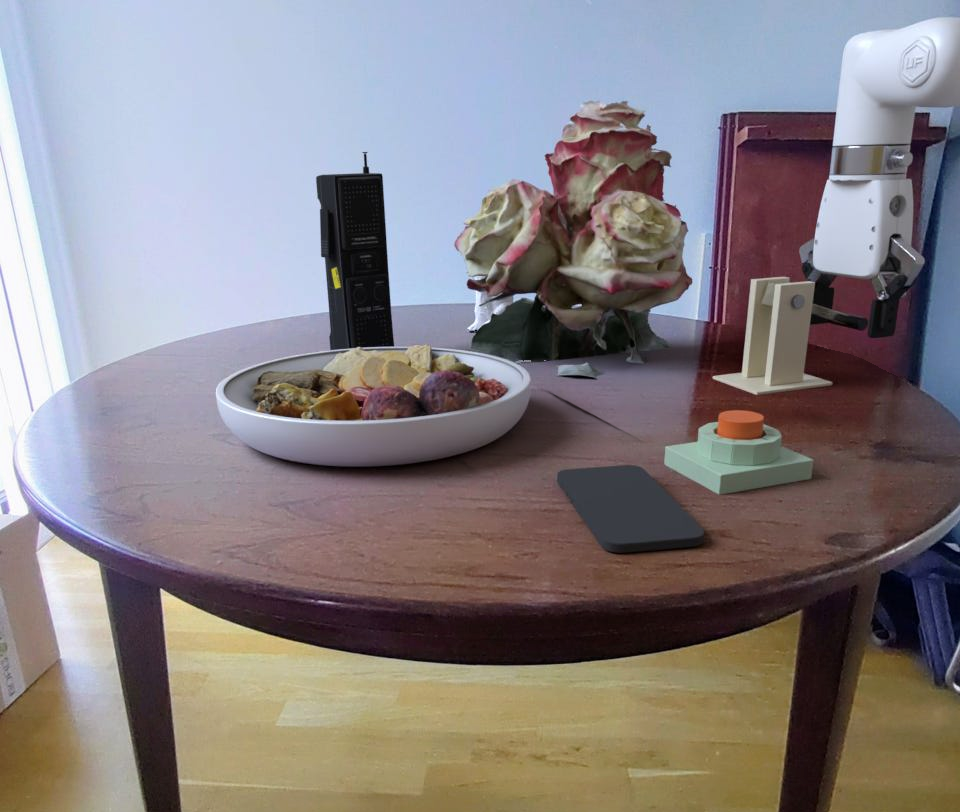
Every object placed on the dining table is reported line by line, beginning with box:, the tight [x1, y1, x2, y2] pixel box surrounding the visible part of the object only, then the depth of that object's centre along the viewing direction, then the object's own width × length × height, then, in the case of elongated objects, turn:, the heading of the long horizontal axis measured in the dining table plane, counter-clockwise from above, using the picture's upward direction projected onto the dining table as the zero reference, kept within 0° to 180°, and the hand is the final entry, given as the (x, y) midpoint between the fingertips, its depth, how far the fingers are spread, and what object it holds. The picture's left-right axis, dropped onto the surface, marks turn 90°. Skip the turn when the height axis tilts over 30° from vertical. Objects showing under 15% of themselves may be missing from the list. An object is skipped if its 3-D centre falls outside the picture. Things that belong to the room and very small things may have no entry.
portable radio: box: [315, 151, 395, 350], centre depth 112 cm, size 8×6×25 cm
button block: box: [663, 421, 814, 495], centre depth 75 cm, size 9×8×4 cm
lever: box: [761, 283, 869, 332], centre depth 99 cm, size 12×5×2 cm, turn 111°
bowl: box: [215, 344, 532, 468], centre depth 88 cm, size 30×30×8 cm
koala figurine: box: [459, 252, 514, 330], centre depth 133 cm, size 8×7×12 cm
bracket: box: [712, 276, 833, 396], centre depth 98 cm, size 10×8×12 cm
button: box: [717, 409, 765, 440], centre depth 74 cm, size 4×4×2 cm
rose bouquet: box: [454, 100, 693, 381], centre depth 109 cm, size 26×29×30 cm
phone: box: [556, 464, 706, 554], centre depth 68 cm, size 7×1×15 cm
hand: (848, 329), depth 101 cm, fingers open, 9 cm apart
